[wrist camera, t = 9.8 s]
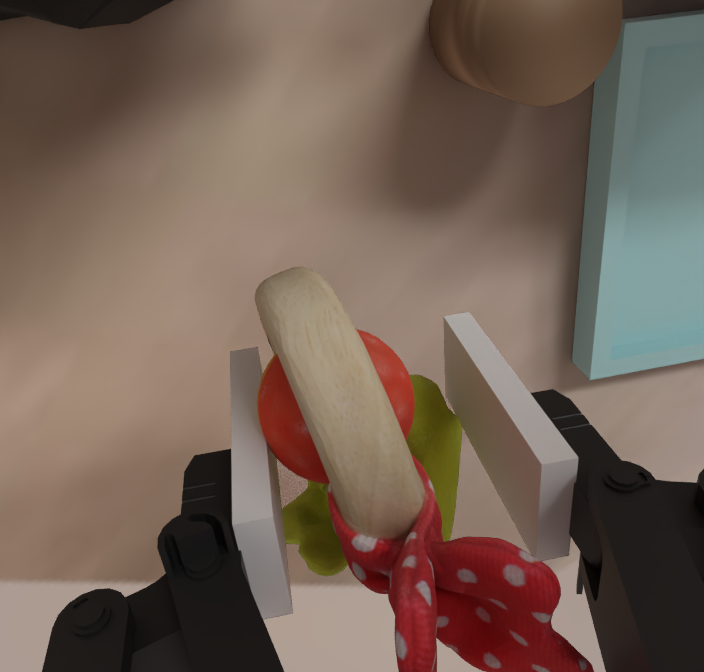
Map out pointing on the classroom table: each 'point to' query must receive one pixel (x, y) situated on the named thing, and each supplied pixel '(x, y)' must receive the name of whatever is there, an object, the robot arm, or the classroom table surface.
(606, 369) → the tray
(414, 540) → the bird rattle
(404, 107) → the classroom table surface
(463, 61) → the walnut dowel
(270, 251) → the classroom table surface
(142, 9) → the penguin
